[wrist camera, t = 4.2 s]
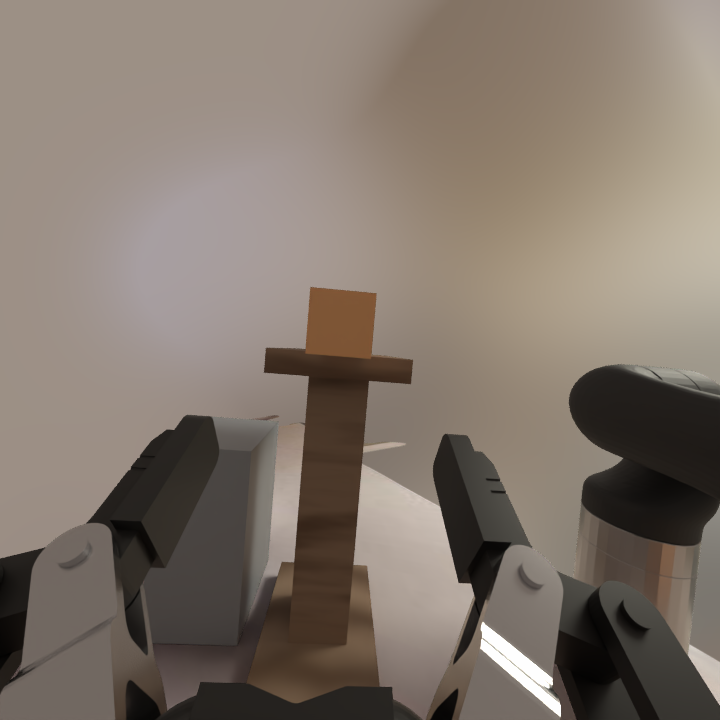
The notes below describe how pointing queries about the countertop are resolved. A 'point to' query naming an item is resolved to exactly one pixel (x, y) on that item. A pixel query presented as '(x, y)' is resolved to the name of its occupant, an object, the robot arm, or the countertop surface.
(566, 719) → the countertop surface
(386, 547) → the countertop surface
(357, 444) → the stand
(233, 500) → the grey riser
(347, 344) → the orange bar
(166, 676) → the countertop surface
